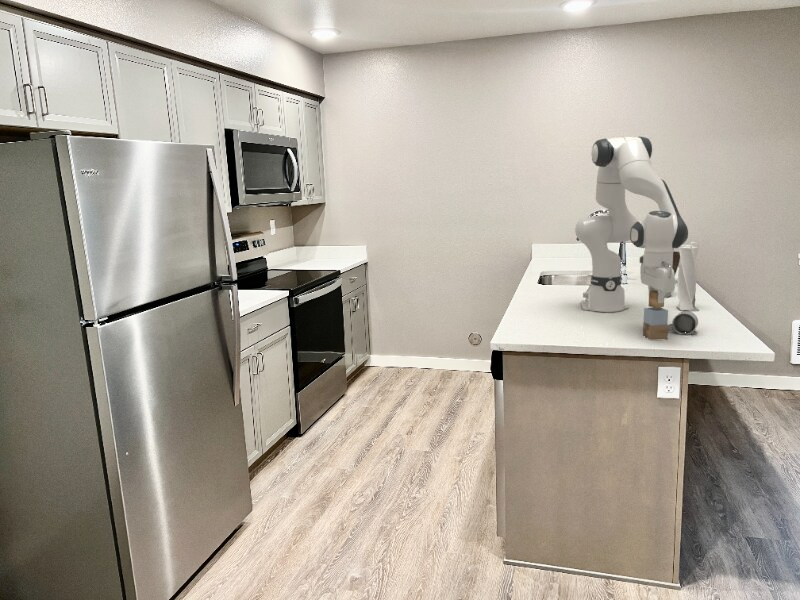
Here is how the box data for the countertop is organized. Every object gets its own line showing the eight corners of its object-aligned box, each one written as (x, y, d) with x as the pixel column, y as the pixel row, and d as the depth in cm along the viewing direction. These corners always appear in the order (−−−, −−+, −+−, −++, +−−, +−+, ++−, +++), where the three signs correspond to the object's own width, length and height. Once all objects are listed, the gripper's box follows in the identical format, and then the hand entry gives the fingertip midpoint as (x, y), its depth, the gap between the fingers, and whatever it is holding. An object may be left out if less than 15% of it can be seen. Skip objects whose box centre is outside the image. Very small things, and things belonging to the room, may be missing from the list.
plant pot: (656, 280, 316) (658, 250, 313) (685, 283, 305) (686, 251, 302) (642, 284, 307) (643, 253, 304) (670, 287, 295) (672, 254, 292)
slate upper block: (643, 322, 206) (644, 307, 205) (658, 321, 206) (659, 307, 205) (651, 325, 200) (652, 311, 199) (667, 324, 201) (668, 310, 200)
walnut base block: (642, 335, 207) (643, 321, 206) (660, 335, 207) (660, 321, 206) (649, 340, 201) (650, 325, 200) (667, 339, 201) (668, 325, 200)
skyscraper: (700, 311, 239) (704, 242, 234) (678, 311, 241) (681, 242, 236) (694, 307, 247) (698, 240, 242) (673, 307, 249) (676, 240, 244)
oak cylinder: (646, 304, 204) (646, 290, 203) (660, 304, 204) (661, 290, 203) (651, 307, 200) (652, 293, 199) (666, 307, 200) (666, 292, 199)
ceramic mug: (698, 330, 211) (699, 309, 209) (696, 336, 204) (696, 314, 202) (665, 328, 216) (666, 307, 215) (662, 333, 209) (662, 312, 208)
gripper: (681, 264, 189) (679, 306, 191) (655, 256, 209) (654, 295, 211) (661, 264, 189) (659, 307, 192) (637, 257, 209) (636, 296, 212)
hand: (656, 301), depth 202 cm, fingers closed on oak cylinder, 5 cm apart
